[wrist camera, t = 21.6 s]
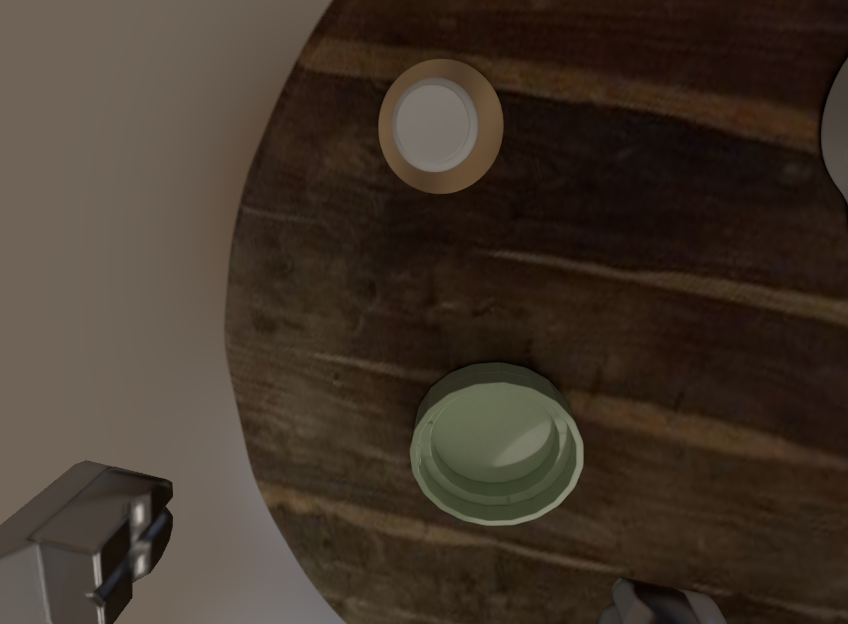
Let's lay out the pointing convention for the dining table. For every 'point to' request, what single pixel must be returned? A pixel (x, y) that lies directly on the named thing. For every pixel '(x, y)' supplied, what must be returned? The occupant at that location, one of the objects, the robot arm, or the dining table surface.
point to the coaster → (487, 131)
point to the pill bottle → (434, 124)
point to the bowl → (495, 445)
